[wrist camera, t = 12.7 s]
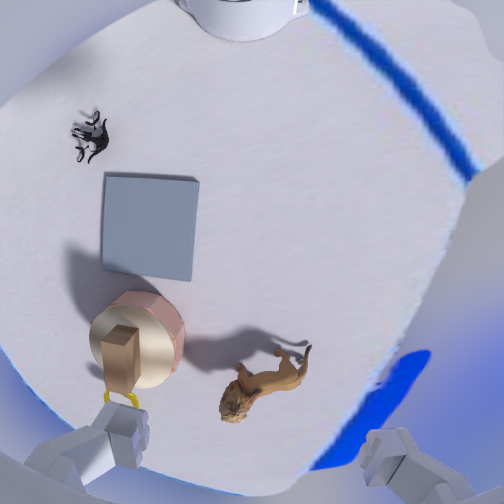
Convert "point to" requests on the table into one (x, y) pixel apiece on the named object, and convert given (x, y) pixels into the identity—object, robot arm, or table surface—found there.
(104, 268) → the mat
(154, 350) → the lid
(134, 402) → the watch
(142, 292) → the octagonal planter
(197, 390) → the table surface
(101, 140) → the creature
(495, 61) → the table surface
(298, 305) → the table surface
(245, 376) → the lion figurine
